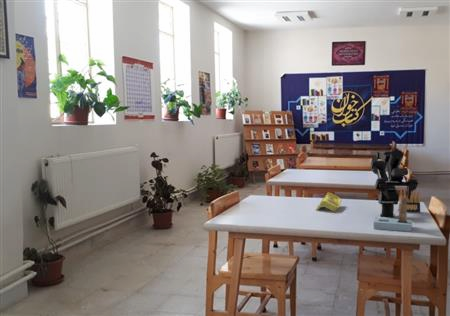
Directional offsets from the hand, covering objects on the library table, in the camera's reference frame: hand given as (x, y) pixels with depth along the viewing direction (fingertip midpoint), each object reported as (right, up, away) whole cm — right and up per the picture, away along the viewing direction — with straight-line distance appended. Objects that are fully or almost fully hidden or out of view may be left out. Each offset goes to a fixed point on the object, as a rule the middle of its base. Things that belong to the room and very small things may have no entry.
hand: (399, 198), depth 227 cm
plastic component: (-23, -9, +42) cm, 49 cm away
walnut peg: (0, -13, -5) cm, 14 cm away
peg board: (-4, -13, -4) cm, 14 cm away
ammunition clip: (+17, -10, +32) cm, 37 cm away
